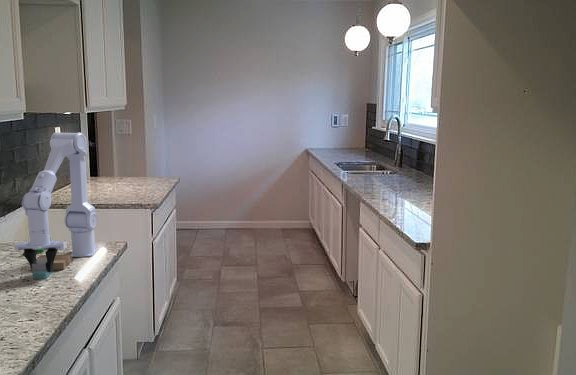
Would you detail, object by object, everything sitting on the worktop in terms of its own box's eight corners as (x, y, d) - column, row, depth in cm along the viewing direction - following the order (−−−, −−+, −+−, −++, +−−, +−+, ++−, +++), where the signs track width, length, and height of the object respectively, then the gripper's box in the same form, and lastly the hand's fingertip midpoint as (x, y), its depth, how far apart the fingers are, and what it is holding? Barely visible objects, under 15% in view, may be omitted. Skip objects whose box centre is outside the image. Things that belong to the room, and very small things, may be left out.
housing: (39, 272, 170) (38, 257, 169) (52, 272, 170) (51, 257, 169) (33, 279, 164) (31, 263, 163) (46, 278, 164) (45, 263, 163)
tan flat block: (41, 262, 180) (40, 255, 180) (71, 261, 181) (71, 254, 181) (31, 271, 171) (31, 263, 171) (64, 269, 173) (63, 262, 172)
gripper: (9, 233, 160) (13, 276, 162) (59, 232, 161) (62, 274, 164) (18, 228, 166) (22, 269, 169) (66, 226, 168) (69, 267, 171)
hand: (42, 271), depth 167 cm, fingers closed on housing, 4 cm apart
